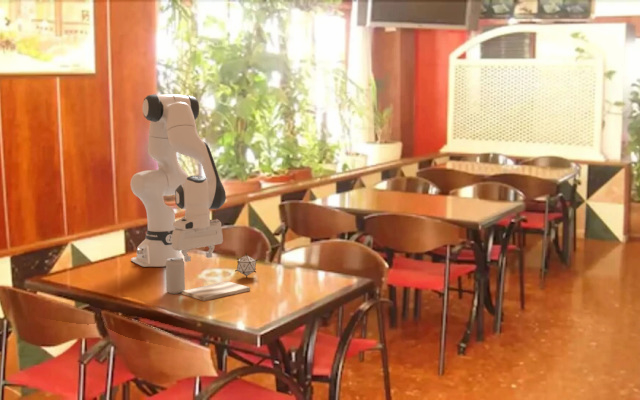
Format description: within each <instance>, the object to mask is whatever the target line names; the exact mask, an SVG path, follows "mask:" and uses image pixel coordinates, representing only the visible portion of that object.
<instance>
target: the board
mask: <svg viewBox="0 0 640 400" xmlns="http://www.w3.org/2000/svg"><path fill="white" fill-rule="evenodd" d="M249 291H251V287H250V286H248V285H247V286H246V285H242V284H239V283H235V282H231V281H229V280H227V281H223V282H217V283H212V284H207V285H204V286H198V287H193V288H188V289H185V290H183V291H182V293H181V294H182V295H184V296H187V297H190V298H193V299H197V300H200V301H202V302H205V301H212V300H214V299H218V298H223V297H229V296H232V295H233V296H234V295H236V294H241V293H246V292H249Z"/></svg>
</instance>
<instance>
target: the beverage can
mask: <svg viewBox="0 0 640 400" xmlns="http://www.w3.org/2000/svg"><path fill="white" fill-rule="evenodd" d="M185 278H186V277H185V260H184V258H183V257H181V258H169V259H167V262H166V266H165V281H166V282H165V284H166V285H165V286H166V287H165V288H166V292H167V293H169V294H172V295H177V294H182V291H183V290H186V285H185V284H186V283H185Z"/></svg>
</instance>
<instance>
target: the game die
mask: <svg viewBox="0 0 640 400" xmlns="http://www.w3.org/2000/svg"><path fill="white" fill-rule="evenodd" d="M236 260H237V261H236V262H237V267H236V269H235V271H234V272H238V273H240V274H242V275H243V276H245V278H246V279H247V278H248V276H249V275H251V274H253V273H257V271H256V270H257V269H256V265H257V262H258V260H259V259H255V258H253V257H252V256H250V255H248V253H247V252H245V255H244V256H242V257H240V258H238V257H237V258H236Z"/></svg>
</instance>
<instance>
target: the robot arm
mask: <svg viewBox="0 0 640 400" xmlns="http://www.w3.org/2000/svg"><path fill="white" fill-rule="evenodd" d="M199 113H200V104H199V101H198V99H197V98H196V97H195V96H192V95H190V94H189V95H188V94H187V95H184V94H176V93H171V94H169V93H166V94H165V93H163V94H162V93H161V94H156V93H154V94H149V95H147V96H146V97H144V99H143V103H142V115H143V116H144V118H145V119H146V120H147V121H149V122H150V123H149V128H148V129H149V130H148V142H147V143H148V145H147V154H148V155H149V157H150V158H152V159H153V160H154V161H156V162H157V165H158V167H157V169H151V170H150V169H148V170H142V171H139V172H136V173H135V174H133V175H132V177H131V178H130V184H129V185H130V190H131V192H132V193H133V195H134V196H135V197H137V198H139V200H140V201H141V203H142V204H143V206H144V208H145V211H146V219H147V230H146V231H145V239H144V240H142V241H141V243H140V244H138V246H137V248H136V256H134V257H131V258H130V261H131V262H133V263H135V264H136V265H139V266H141V267H144V268H146V267H148V268H149V267H160V268H161V267H166V262H167V259H169V258H182V257H181V254H182V256H184V258H183V261H184V262H191V258H192V257H191V256H190V255H188V252H189V250H192V249H197V248H198V249H199V248H205V247H207V248H209V249H208V251H207V252H205V258H207V259H210V258H213V252H214V250H215V248H216V247H215V246H216V245H221V244H223V242H224V235H223V229H222V222H221V221H220V220H219V219H218V218H214V219H211V212H210V210H219V209H220V208H221V207H222V206H223V205H224V204H225V203H226V199H227V198H226V197H227V194H226V191H225V188H224V185H223V183H222V180H221V178H220V175H219V173H218V169H217V165H216V163H215V160H214V158H213V155H212V151H211V149H210V147H209V144H208V143H207V142H206V141H203V140H202V138H201V137H200V135H199V133H198V130H197V125H196V119H197V118H198V117H199ZM177 153H178V154H180V155H183V156H186V157H190V158H192V159H194V160H196V161H197V162H198V163H200V164H201V166H202V169H203V172H204V176H205V177H204V176H201V175H190V176H189V175H188V173H187V172H186V170H184V169H183V168H182V167H181V165H180V164H179V161H178V157H177ZM173 195H174V196H175V197H174V198H175V199H174V201H175V205H176V206H177V207H179V208H180V209H181V210H185V211H184V216H183V217H181V218H179V219H177V220H175V219H176V215H175V214H176V212H175V210H174V208H172V207H171V206H170V205H167V204H166V202H165V198H164V196H173ZM180 252H181V253H180Z"/></svg>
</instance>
